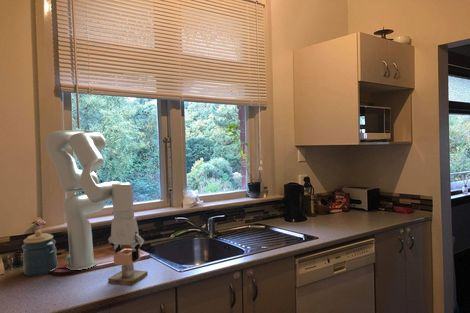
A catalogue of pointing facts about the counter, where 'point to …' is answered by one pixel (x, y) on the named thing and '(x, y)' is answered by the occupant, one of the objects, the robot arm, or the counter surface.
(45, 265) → the canister
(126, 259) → the collar
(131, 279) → the post board
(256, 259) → the counter surface
